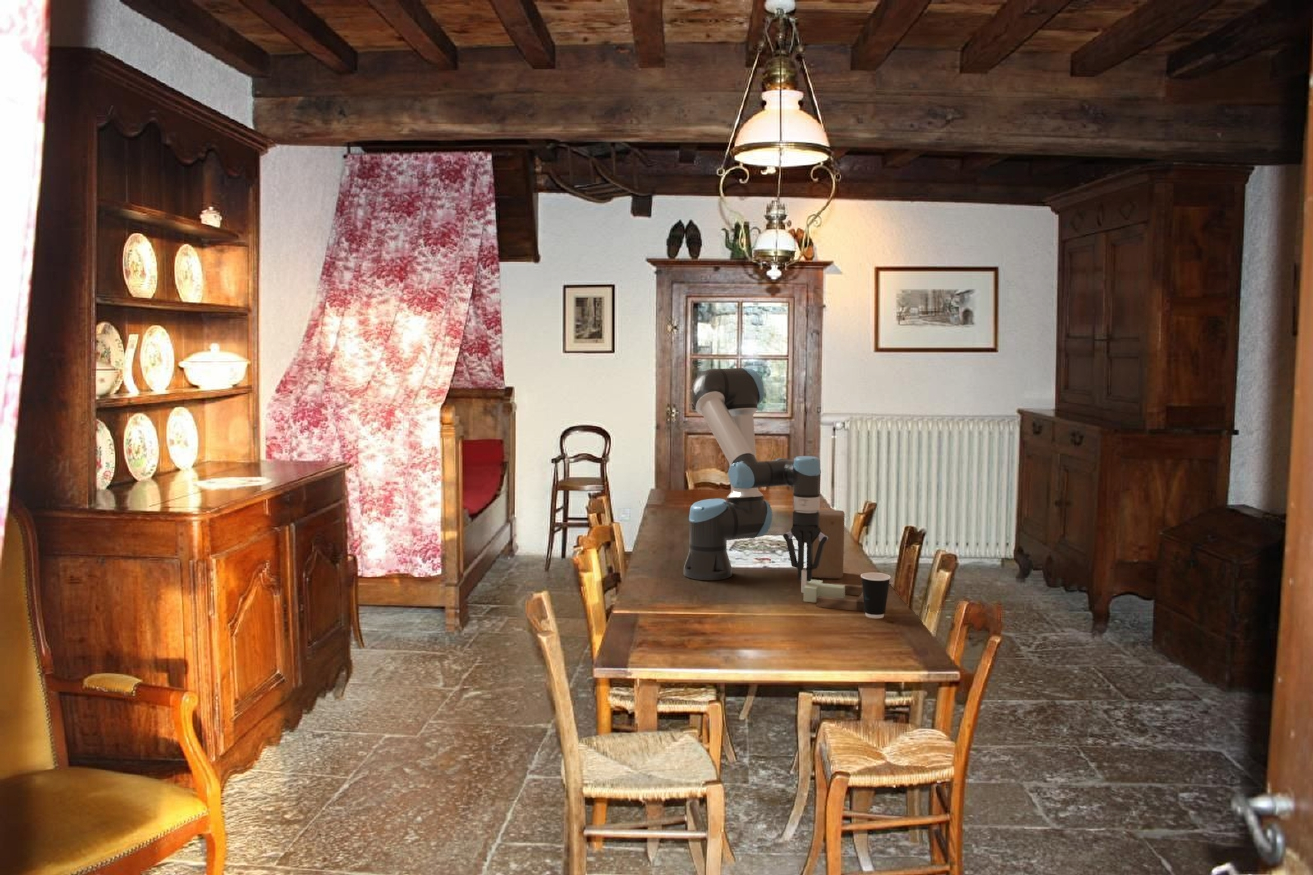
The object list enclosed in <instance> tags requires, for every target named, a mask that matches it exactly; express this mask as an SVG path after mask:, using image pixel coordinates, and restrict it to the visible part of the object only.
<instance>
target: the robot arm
mask: <svg viewBox="0 0 1313 875" xmlns="http://www.w3.org/2000/svg"><path fill="white" fill-rule="evenodd" d="M690 395H691V402H692V405H693V406H694V408H695V411H696V412H697V414H698V415H700V416H703V418H704V420H705V422H706V424H707V425H708V428H709V429H710V432H711V433H712V435H713V437H714V438H715V440H716V441H717V444H718V445H719V448H720V449H721V451H722V453H723V455H724V457H725V458H726V460H727V462H728V464H729V468H728V472H727V477H728V481H729V484H730V493H729V494H728V495H727V496H726V499H724V498H709V499H707V498H706V499H701V500H699V501H695V502H694V503H693V504H691V506H690V509H689V516H688V521H689V528H688V529H689V542H688V543H689V546H688V547H689V549H688V550H689V551H688V554H687V556H686V560H685V563H684V566H683V576H684V577H687V578H688V579H693V580H699V581H719V580H725V579H728V578H731V577H732V576H733V567H732V564H731V561H730V558H729V554H728V550H727V547H728V546H727V543H728V542H727V541H734V540H742V539H743V540H744V539H745V540H746V539H755V538H760V537H764V536H765V535H767V533H768V532H769V530H770V529H771V526H772V522H773V510H772V507H771V504H770V502H768V501H767V500H765V498H764V497H765V496H764V494H763V493H762V492H761V491H760V490H759V488H771V487H791V488H793V492H792V493H793V494H792V509H793V510H794V511H793V512H792V526H791V528H790V530H789V531H788V532H785V533H783V535H782V537H783V539H784V540H785V542H786V546H787V551H788V554H789V561H790V564H791V567H792V568H796V569H797V580H798V581H800V593H803V594H804V587H805V586H806V584H807V583H808V582H809V581H811V580H813V577H812V569H816V568H817V567H818V566H819V562H820V559H821V555H822V552H823V548H824V544H825V542H826V541H827V540H828V536H827V535H826V536H825V535H824V534H823V533H821V529H820V527H819V512H818V510H821V509H820V507H821V504H820V503H821V502H820V501H821V494H820V493H821V473H822V471H821V470H822V469H821V460H820V458H819V457H817V456H814V455H813V456H811V455H799V456H798V455H797V456H795V457H794V458H793V460H791V459H788V458H776V459H774V460H763V461H758V460H757V451H756V436H755V421H754V420H755V419H754V415H755V413H756V412H757V411H758V405H759V404H760V403H762V401H763V398H764V395H765V388H764V383H763V379H762V378H761V376H760V375H759V373H758V372H757V371H756V370H754V369H752V368H747V367H746V368H744V367H737V368H735V367H734V368H733V367H731V368H708V369H707V370H704V371H702V372H700V374H699V375H697V377H695V380H694V382H693V384H692V387H691V392H690ZM818 536H819V541H820V543H819V546H818V549H817V553H816V557H815V560H814V564H813V542H814V541H815V540H816V538H817V537H818ZM793 537H794V539H795V540H796V541H797V554H796V549H795V546H794V540H793ZM805 544H806V568H804V567H805V563H804V562H805V561H804V560H805V558H804V557H805Z"/></svg>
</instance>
